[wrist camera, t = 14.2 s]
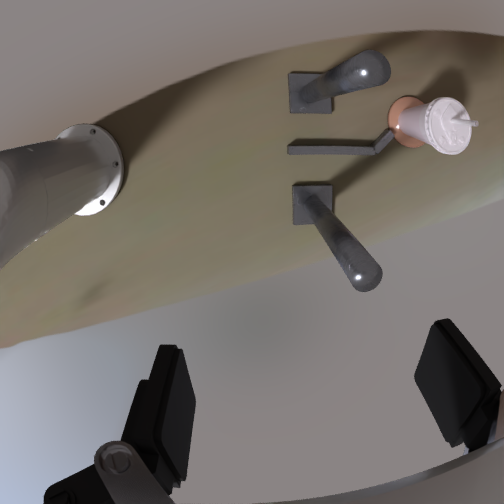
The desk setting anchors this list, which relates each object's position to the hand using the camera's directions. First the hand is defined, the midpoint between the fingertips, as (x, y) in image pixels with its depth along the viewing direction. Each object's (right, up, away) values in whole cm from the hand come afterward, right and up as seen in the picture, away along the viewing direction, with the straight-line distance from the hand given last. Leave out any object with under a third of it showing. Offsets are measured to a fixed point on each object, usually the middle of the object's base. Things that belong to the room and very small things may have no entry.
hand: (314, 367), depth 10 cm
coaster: (+19, +21, +24) cm, 37 cm away
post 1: (+5, +23, +23) cm, 33 cm away
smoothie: (+19, +21, +24) cm, 37 cm away
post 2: (+5, +10, +29) cm, 31 cm away
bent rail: (+9, +18, +25) cm, 32 cm away
